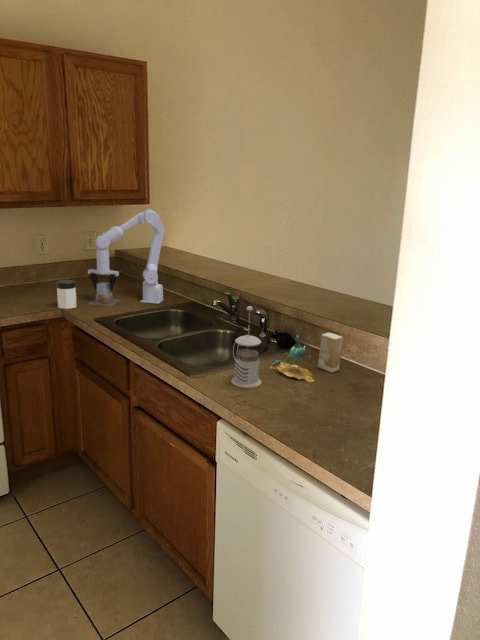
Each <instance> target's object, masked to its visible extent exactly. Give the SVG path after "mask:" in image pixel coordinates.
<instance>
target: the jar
mask: <svg viewBox="0 0 480 640" xmlns="http://www.w3.org/2000/svg"><path fill="white" fill-rule="evenodd" d="M56 294H57V295H56V296H57V297H56V298H57V308H58V309H65V310H68V309H74V308H77V288H76V281H75V280H72V279H61V280H57V281H56Z"/></svg>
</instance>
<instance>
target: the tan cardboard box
mask: <svg viewBox="0 0 480 640" xmlns="http://www.w3.org/2000/svg"><path fill="white" fill-rule="evenodd" d="M95 299H96V298H95ZM113 299H114V296H113V297H112V298H110V299H108V300H104V299H96V303H103V304H109V303H110V302H112V301H113Z"/></svg>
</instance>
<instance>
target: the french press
mask: <svg viewBox="0 0 480 640" xmlns="http://www.w3.org/2000/svg"><path fill="white" fill-rule="evenodd" d="M253 309H254V308H253V306H250V305H249V306H246V311H248V312H249V313H248V322H250V321H251V320H250V319H251V318H250V316H251V311H253ZM247 331H248V333H247V334H246V335H241V336H239V337H237V338H236V339H235V340H234V341H235V342H234V344H233V347H232V354H233V358H234V376H233V377H232V378H231V381H230V383H231V384H232V385H233V386H236V387H239V388H247V389H248V388H250V389H251V388H257V387H259V386H260V385H261V384H262V380H261V379H260V378H259V377H260V376H259V375H260V374H259V373H260V362H261V361H260V360H261V359H260V356H259V355H260V353H259V351H257V350H254V349H249V347H256V346H259V345H260V344H261V343H262V341H261V339H260V338H259V337H257V336H254V335H250V326H248V330H247ZM236 344H237V346H236V347H237V348H236V355H235V353H234V352H235V351H234V350H235V345H236ZM241 346H244V347H247V348H245V349H239V347H241Z"/></svg>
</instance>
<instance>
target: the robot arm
mask: <svg viewBox="0 0 480 640" xmlns="http://www.w3.org/2000/svg"><path fill="white" fill-rule="evenodd" d="M145 222H146V224H147V225H149V226H150V227H151V229H152V230H153V233H152V238H151V244H150V249H149V254H148V257H147V258H148V260H147V263H146V267H145V269H144V270H143V272H142V277H143V279H144V280H143V282H142V299H141V300H140V303H146V304H147V303H148V304H157V305H159V304H160V303H161V302H162V301H164V287H163V284H160V283H159V282H158V279H159V277H158V276H159V275H158V265H159V264H158V263H159V261H160V260H159V258H160V254H161V249H162V245H163V239H164V238H163V237H164V233H165V227H164V224H163V222H162V219H161V217H160V216H159V214H157V212H156V211H154V210H153V209H151V208H147V209H145V210H144V211H141V212H139V213H137V214H136V215H134V216H132V218H130V219H129V220H126V222H124V223H123V224H121V225H120V226H117V225H115V226H111V227H110V229H109V230H107V231H106V232H102V234H101V235H99V236H97V237H96V239H95V245H96V269H93V268H91V269H87V274H88V275H89V276H88V277H89V278H90V279H91V280H90V281H91V282H92V285H93V287H94V290H96V291H97V284H98V283H99V275H102V276H108V280H109V283H110V291H113V290H114V288H115V287H114V286H115V283H116V280H117V278H118V276H119V275H120V273H119V270H118V271H116V270H113V269H110V251H109V246H110V245H111V244H114V243H115V242H117V241H118V240H119V239H121V238H122V237H124V233H125V232H127V231H129V230H131V229H132V228H134V227H136V226H137V225H144V224H145Z"/></svg>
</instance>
